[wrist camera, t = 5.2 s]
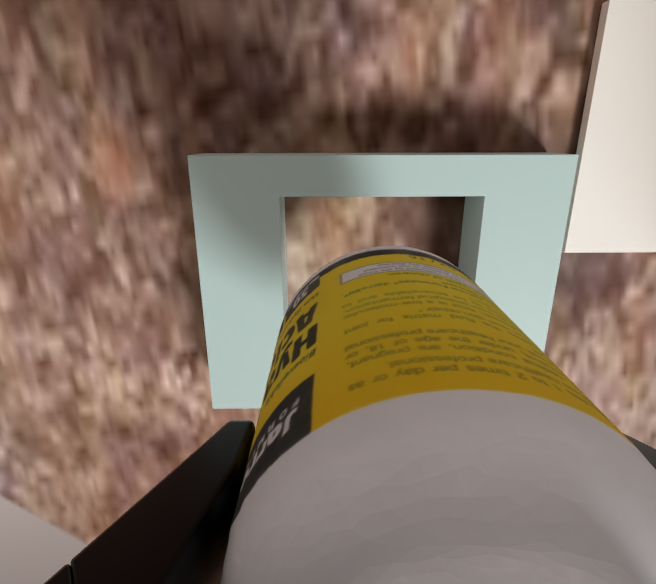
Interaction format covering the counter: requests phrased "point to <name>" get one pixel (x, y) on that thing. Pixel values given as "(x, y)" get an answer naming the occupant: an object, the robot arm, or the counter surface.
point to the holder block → (364, 181)
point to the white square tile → (618, 137)
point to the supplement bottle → (430, 445)
